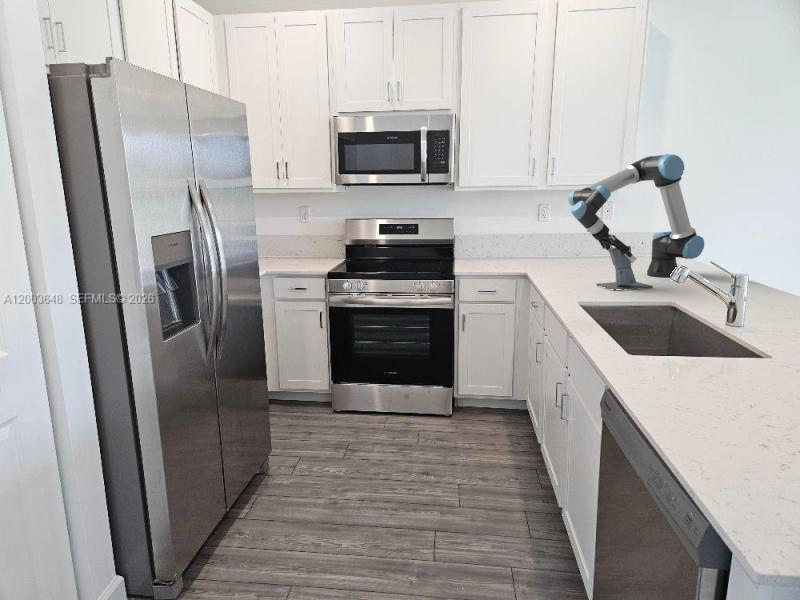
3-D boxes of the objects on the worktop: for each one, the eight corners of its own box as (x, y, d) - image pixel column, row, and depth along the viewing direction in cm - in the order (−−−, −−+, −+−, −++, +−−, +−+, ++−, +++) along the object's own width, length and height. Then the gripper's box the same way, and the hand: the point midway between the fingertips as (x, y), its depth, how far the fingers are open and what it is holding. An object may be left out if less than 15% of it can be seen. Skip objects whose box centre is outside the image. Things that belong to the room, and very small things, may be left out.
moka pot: (615, 286, 242) (608, 244, 241) (614, 285, 256) (607, 245, 256) (638, 283, 238) (630, 240, 238) (635, 282, 253) (628, 241, 253)
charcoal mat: (633, 282, 261) (633, 280, 260) (652, 288, 246) (652, 285, 246) (596, 285, 257) (596, 283, 257) (613, 290, 243) (613, 288, 243)
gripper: (579, 232, 256) (606, 261, 261) (606, 237, 232) (635, 268, 237) (589, 221, 256) (617, 250, 261) (617, 224, 232) (647, 256, 237)
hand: (626, 259), depth 249 cm, fingers open, 13 cm apart
